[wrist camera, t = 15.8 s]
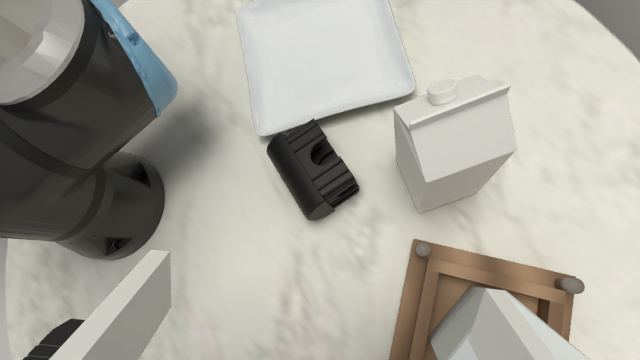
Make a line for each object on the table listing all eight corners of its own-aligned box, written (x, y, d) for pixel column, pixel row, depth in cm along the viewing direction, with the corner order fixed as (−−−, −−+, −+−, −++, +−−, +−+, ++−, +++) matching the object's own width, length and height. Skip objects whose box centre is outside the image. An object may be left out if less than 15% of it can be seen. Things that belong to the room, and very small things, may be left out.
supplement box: (487, 393, 35) (532, 456, 23) (426, 336, 37) (436, 366, 25) (535, 336, 35) (603, 368, 23) (471, 282, 38) (503, 287, 26)
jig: (383, 386, 38) (381, 399, 34) (413, 239, 41) (414, 236, 37) (551, 445, 34) (571, 468, 30) (570, 276, 37) (590, 277, 33)
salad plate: (418, 102, 45) (419, 89, 42) (264, 146, 49) (254, 137, 46) (377, -25, 52) (375, -45, 48) (243, 22, 55) (233, 7, 52)
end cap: (277, 162, 47) (258, 145, 41) (321, 133, 47) (308, 111, 41) (315, 225, 44) (301, 217, 38) (363, 193, 44) (356, 180, 37)
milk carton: (477, 192, 41) (536, 129, 23) (418, 213, 42) (429, 168, 24) (451, 139, 43) (487, 43, 25) (395, 160, 44) (391, 82, 26)
